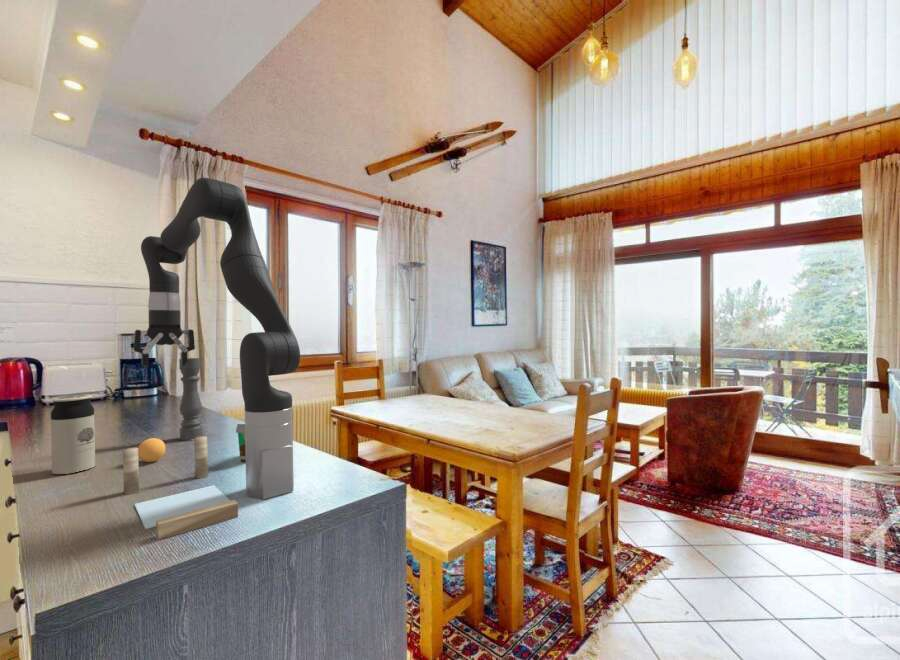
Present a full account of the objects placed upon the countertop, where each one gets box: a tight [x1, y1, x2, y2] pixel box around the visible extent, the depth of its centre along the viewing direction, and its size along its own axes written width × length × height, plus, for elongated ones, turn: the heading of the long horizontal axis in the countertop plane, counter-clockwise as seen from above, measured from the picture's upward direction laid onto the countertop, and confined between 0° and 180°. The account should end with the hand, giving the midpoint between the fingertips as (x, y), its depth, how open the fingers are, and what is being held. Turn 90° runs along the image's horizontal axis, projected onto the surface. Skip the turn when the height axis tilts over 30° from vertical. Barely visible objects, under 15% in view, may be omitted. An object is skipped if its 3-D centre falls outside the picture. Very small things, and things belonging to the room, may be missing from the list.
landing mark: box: [134, 484, 231, 530], centre depth 83 cm, size 14×14×1 cm
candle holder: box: [178, 357, 204, 441], centre depth 134 cm, size 6×6×25 cm
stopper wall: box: [155, 499, 239, 541], centre depth 74 cm, size 2×12×2 cm, turn 133°
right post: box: [193, 435, 209, 479], centre depth 99 cm, size 3×3×9 cm
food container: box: [235, 423, 246, 463], centre depth 113 cm, size 12×6×10 cm, turn 168°
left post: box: [122, 446, 140, 495], centre depth 90 cm, size 3×3×9 cm
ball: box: [137, 437, 167, 463], centre depth 111 cm, size 6×6×6 cm
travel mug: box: [50, 394, 96, 475], centre depth 105 cm, size 8×8×18 cm
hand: (165, 366), depth 121 cm, fingers open, 8 cm apart
